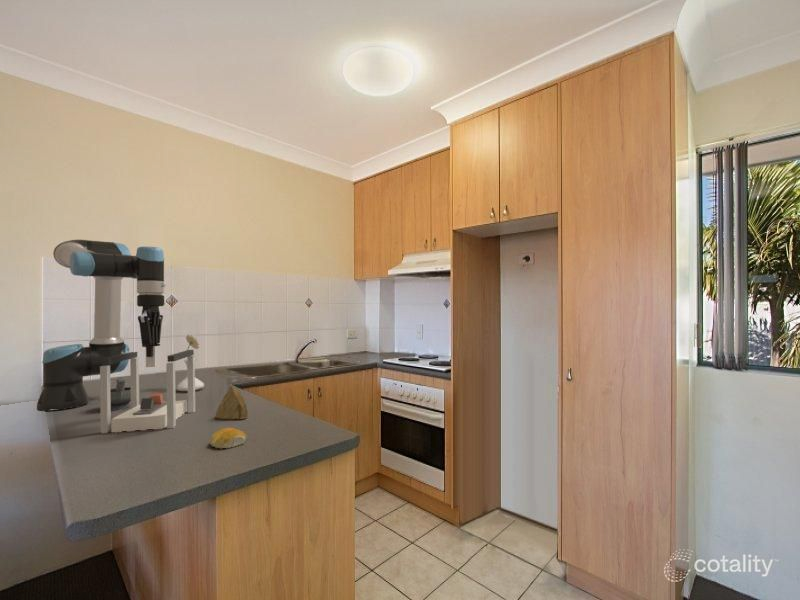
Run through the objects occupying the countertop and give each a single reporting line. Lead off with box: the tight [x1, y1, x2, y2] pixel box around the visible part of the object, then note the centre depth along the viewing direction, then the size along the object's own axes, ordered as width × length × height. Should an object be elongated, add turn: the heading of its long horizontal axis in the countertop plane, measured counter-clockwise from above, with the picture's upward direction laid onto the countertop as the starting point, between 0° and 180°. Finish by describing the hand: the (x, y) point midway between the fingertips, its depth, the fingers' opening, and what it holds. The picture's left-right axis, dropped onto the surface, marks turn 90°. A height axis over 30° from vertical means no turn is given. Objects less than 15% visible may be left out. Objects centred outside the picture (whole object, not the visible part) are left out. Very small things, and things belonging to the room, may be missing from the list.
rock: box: [214, 386, 248, 420], centre depth 128 cm, size 11×9×10 cm
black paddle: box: [140, 397, 154, 410], centre depth 123 cm, size 2×3×3 cm, turn 100°
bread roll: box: [209, 427, 247, 450], centre depth 104 cm, size 8×9×4 cm
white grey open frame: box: [99, 355, 196, 434], centre depth 127 cm, size 20×20×20 cm
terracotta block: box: [149, 392, 164, 404], centre depth 130 cm, size 2×3×3 cm, turn 101°
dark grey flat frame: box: [102, 349, 195, 365], centre depth 127 cm, size 18×20×2 cm
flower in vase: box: [175, 334, 205, 392], centre depth 176 cm, size 13×11×25 cm
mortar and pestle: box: [110, 376, 131, 411], centre depth 145 cm, size 11×9×12 cm
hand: (151, 366), depth 127 cm, fingers closed
